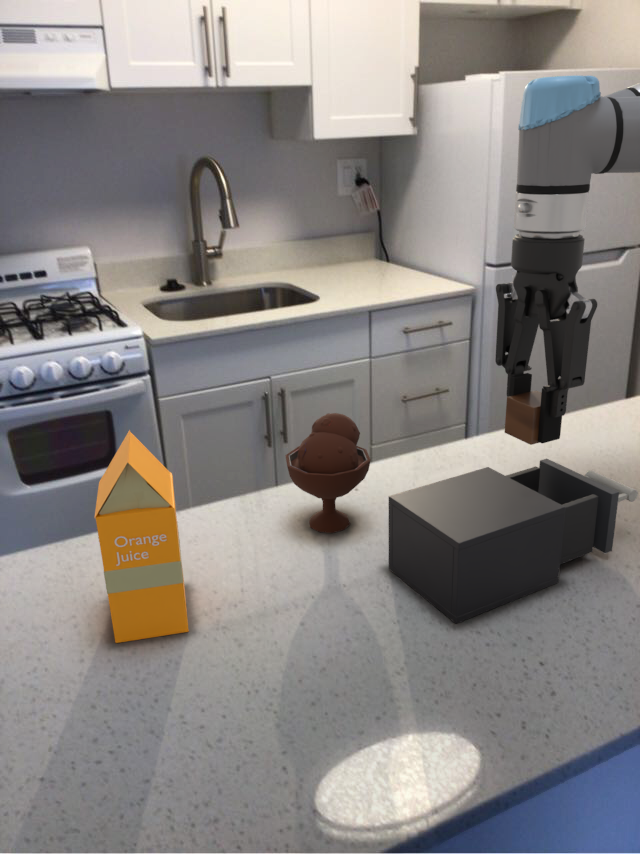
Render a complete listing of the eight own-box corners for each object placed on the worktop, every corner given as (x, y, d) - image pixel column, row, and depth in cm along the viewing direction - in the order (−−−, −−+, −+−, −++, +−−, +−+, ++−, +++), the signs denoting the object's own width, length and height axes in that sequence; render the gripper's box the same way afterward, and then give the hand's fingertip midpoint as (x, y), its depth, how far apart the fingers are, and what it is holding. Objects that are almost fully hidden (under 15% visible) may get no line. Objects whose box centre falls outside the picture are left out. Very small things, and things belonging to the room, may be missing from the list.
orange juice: (185, 586, 87) (167, 424, 80) (190, 631, 79) (170, 456, 72) (116, 596, 86) (90, 432, 78) (113, 644, 78) (84, 466, 70)
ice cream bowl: (297, 501, 106) (292, 401, 101) (376, 507, 104) (376, 404, 98) (278, 539, 97) (272, 430, 91) (365, 546, 94) (363, 434, 89)
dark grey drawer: (577, 501, 102) (582, 447, 99) (648, 536, 92) (656, 478, 89) (460, 540, 93) (462, 483, 90) (526, 584, 84) (531, 522, 81)
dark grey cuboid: (484, 535, 96) (488, 466, 92) (558, 582, 85) (565, 506, 82) (388, 568, 89) (388, 495, 86) (456, 624, 79) (459, 543, 75)
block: (533, 425, 93) (536, 390, 92) (560, 437, 90) (563, 400, 88) (504, 432, 91) (506, 396, 90) (530, 445, 88) (533, 407, 86)
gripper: (469, 228, 88) (461, 417, 96) (585, 245, 73) (563, 465, 81) (519, 223, 91) (507, 406, 99) (639, 238, 76) (613, 451, 85)
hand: (532, 432), depth 90 cm, fingers closed on block, 5 cm apart
